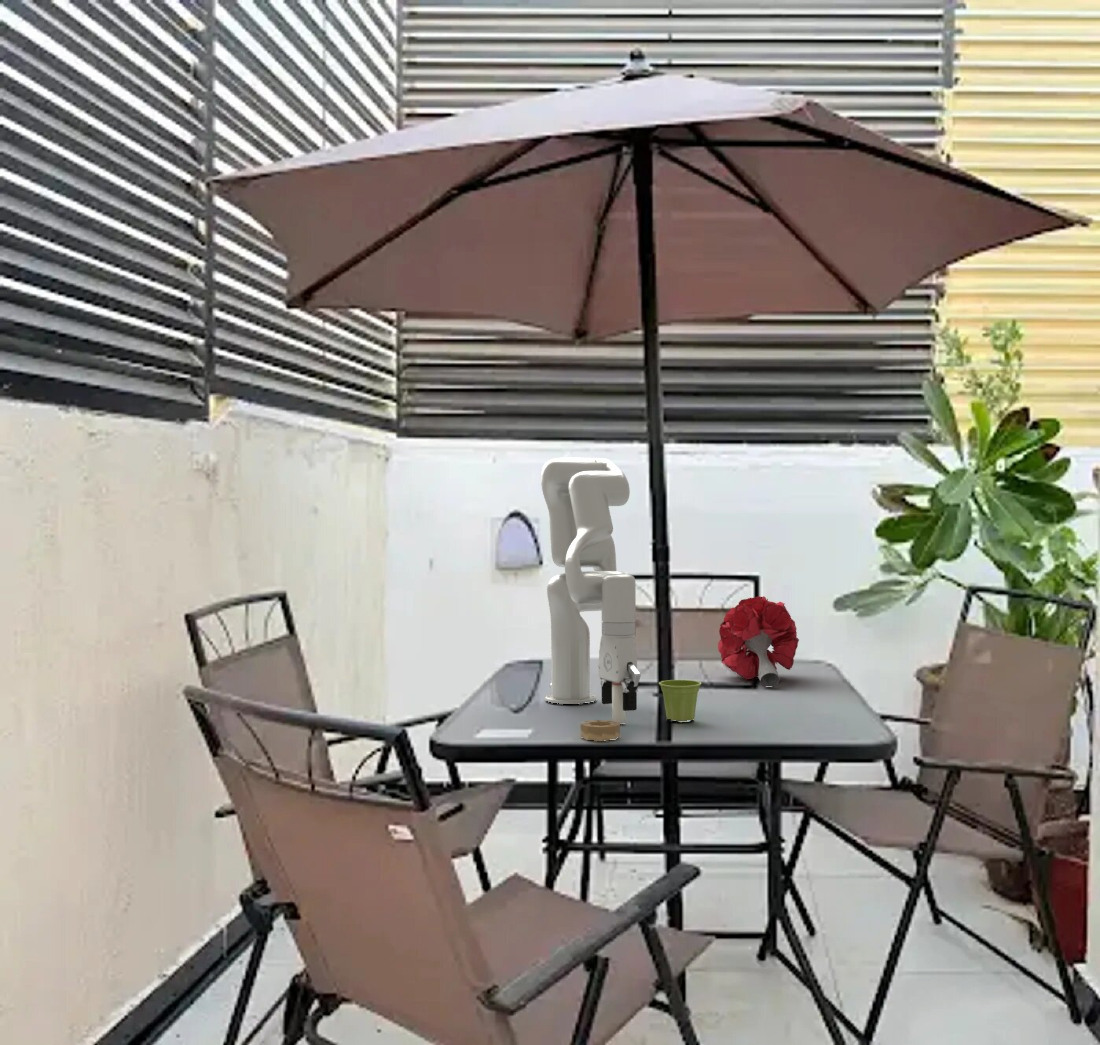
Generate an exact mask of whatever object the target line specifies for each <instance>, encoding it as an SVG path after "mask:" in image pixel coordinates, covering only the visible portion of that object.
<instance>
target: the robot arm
mask: <svg viewBox="0 0 1100 1045" xmlns="http://www.w3.org/2000/svg"><path fill="white" fill-rule="evenodd" d="M540 486H541V491H542V494H543V498H544V500H545V503H546V506H547V510H548V516H549V535H550V537H549V538H550V549H551V550H550V552H551V558H552V561H553V563H554V565H555V566H558V567H560V568H564V573H558V574H556V575H554V576H553V577H551V578H550V580H549V581H548V583H547V586H546V587H547V588H546V590H547V591H546V594H547V602H548V607H549V614H550V636H551V638H550V642H551V643H550V644H551V645H550V649H551V651H550V652H551V654H550V656H551V660H550V661H551V662H550V663H551V666H550V667H551V669H550V670H551V674H550V675H551V676H550V677H551V678H550V679H551V683H550V684H549V688H551V694H550V693H549V694H547V695H545V698H544V699H545V702H546V701H548V702H547V703H549V702H551V703H550V704H553V703H557V704H556V705H563V704H578V703H585V702H591V701H595V700H596V701H597V695H595V694H592V693H591V649H590V648H591V644H590V641H591V640H590V638H591V637H590V636H591V635H590V634H591V633H590V627H589V626H588V624H587V622H586V621H585V619H584V618H583V617H582V616H581V614H580V613H583V612H601V637H600V642H599V650H598V651H599V654H598V677H599V680H600V683H599V684H600V686H601V704H603V705H612V682H614V683H619V682H621V683H622V686H623V688H624V691H625V692H623V710H624V711H626V712H630V711H637V709H638V708H637V707H638V706H637V700H638V698H637V697H638V696H637V695H638V694H637V693H638V692H639V687H640V680H641V673H640V671H639V670H638V658H637V646H636V639H635V637H636V634H637V633H636V632H637V628H636V627H637V626H636V625H637V624H636V621H637V620H636V618H637V617H636V614H637V613H636V610H637V608H636V601H637V600H636V596H637V595H636V592H637V591H636V590H637V589H636V588H637V587H636V578H635V576H634V575H632V574H630V573H625V572H623V571H618V570H617V556H616V546H615V541H614V538H613V536H612V534H613V531H614V525H613V522H612V521H613V520H612V516H611V512H610V507H621V506H625V505H626V504H627V502H628V501H629V499H630V491H631V490H630V484H629V480H628V478H627V476H626V474H625V472H623V470H622V469H621V468H619V467H618V466H617V465H616V464H615V463H614V462H612V461H611V460H610V459H608V458H602V457H601V458H600V457H559V458H558V457H557V458H552V459H550V460H548V461H547V462H545V463H544V465H543V466H542V469H541V477H540ZM582 568H593V570H594V571H593V570H592V571H591V570H590V571H589V570H587V571H583V570H582ZM596 701H595V702H596ZM558 703H559V704H558Z"/></svg>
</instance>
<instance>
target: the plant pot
mask: <svg viewBox="0 0 1100 1045" xmlns="http://www.w3.org/2000/svg"><path fill="white" fill-rule="evenodd" d="M658 685H659V686H660V688H661V692H662V694H663V695H662V697H663V703H664V709H665V716H666V720H667V719H671V720H676V721H687V720H693V719H694V720H695V716H696V708H697V699H698V693H699V691H700V686H701V685H702V682H701V681H699V680H698V681H697V680H693V679H692V680H691V679H670V680H661V681H659V682H658Z"/></svg>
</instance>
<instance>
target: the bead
mask: <svg viewBox="0 0 1100 1045" xmlns="http://www.w3.org/2000/svg"><path fill="white" fill-rule="evenodd" d="M620 727H621V725H620V723H617V722H614V721H612V720H603V719H598V720H597V719H596V720H586V721H583V722H581V723H580V738H581V737H583V738H584V739H587V740H594V741H593V742H597V741H604V740H610V739H616V738H617V737H619V736H620V737H621V735H620V734H621V733H620V732H621V730H620ZM584 739H583V740H584ZM587 740H586V741H587Z"/></svg>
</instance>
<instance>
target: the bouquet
mask: <svg viewBox="0 0 1100 1045" xmlns="http://www.w3.org/2000/svg"><path fill="white" fill-rule="evenodd" d="M785 604H786V603H784V602H782V601H779V602H774V601H770V600H769V599H768V598H766V597H765V596H759V595H758V596H755V597H749V598H748V597H747V598H744V599H741V600H740V601H739V602H738V604H737V605H735V607H732V608H730V610H728V611H727V612H726V613H725V615H724V618H723V622H722V623H720V625H719V626H720V627H719V630H718V632H719V636H720V640H719V641H718V643H717V644H718V645H717V648H718V650H717V651H718V652H719V653H720V655H721V656H720V657H721V660H720V661H721V663H722V664H724V665H725V666H726V667H727V668H728V669H730V670H731V671H732V672H733V673H736V674H737V675H738V676H739V677H742V678H744V679H745V680H747V679H752V678H753V679H755V678H754V677H755V675H756V676H759V678H758V679H759V682H760V685H761V686H762V687H763V686H775V687H776V686H777V685H778V684H779V683H780V676H779V672H778V668H777V666H776V665H780V666H782V667H783V668H785V669H786V670H788V671H790V670H791V669H792V668H793V666H794V663H795V662H794V661H795V659H794V658H795V656H796V653H797V652H796V651H797V649H798V645H799V641H800V639H799V638H798V637H797V636H798V635H797V633H798V632H797V626H796V622H795V620H794V619H792V616H791V614H790V613H789V611H788V610H787V607H786V605H785ZM770 647H772V648H771V649H772V651H771V650H769V648H770ZM753 679H752V680H753Z"/></svg>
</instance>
